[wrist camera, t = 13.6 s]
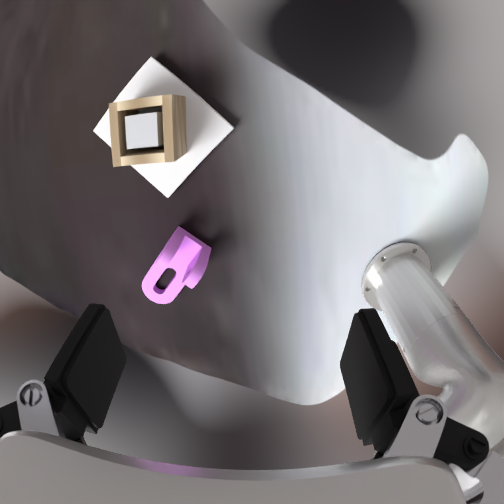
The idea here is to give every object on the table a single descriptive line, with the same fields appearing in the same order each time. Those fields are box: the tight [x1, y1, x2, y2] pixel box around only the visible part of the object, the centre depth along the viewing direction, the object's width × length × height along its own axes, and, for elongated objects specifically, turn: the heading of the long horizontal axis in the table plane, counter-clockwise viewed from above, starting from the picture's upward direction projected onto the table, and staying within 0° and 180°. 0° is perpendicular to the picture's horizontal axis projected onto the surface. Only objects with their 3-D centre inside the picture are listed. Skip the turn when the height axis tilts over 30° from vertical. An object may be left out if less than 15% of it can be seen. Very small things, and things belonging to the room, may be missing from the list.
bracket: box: [142, 226, 212, 304], centre depth 39 cm, size 13×6×7 cm, turn 142°
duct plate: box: [94, 57, 234, 198], centre depth 29 cm, size 14×12×7 cm
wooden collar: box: [109, 94, 187, 167], centre depth 28 cm, size 7×7×6 cm
